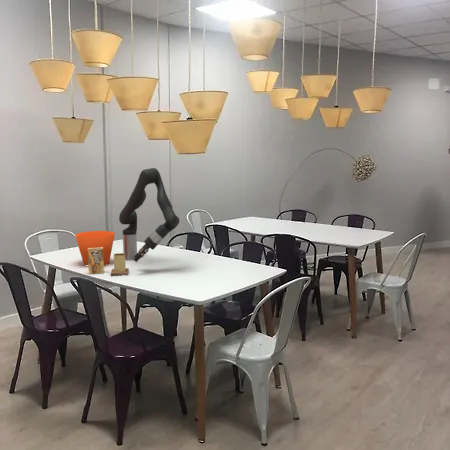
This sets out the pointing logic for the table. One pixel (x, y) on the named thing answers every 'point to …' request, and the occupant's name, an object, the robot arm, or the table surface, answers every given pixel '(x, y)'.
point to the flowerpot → (95, 243)
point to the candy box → (95, 260)
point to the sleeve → (119, 262)
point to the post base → (119, 272)
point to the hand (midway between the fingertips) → (135, 259)
